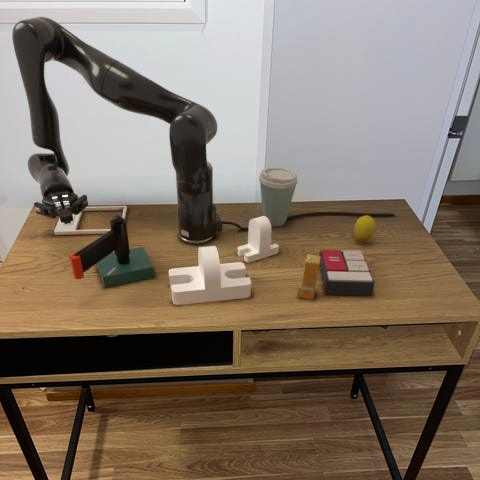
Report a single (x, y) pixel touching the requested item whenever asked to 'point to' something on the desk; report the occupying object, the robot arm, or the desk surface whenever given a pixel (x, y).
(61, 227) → the photo frame
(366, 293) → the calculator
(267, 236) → the cable organizer
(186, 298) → the white slotted bracket
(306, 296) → the supplement box
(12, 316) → the desk surface
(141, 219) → the desk surface
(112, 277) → the stand
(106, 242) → the black l-shaped bar
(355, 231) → the lemon
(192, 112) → the robot arm
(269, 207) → the disposable coffee cup
